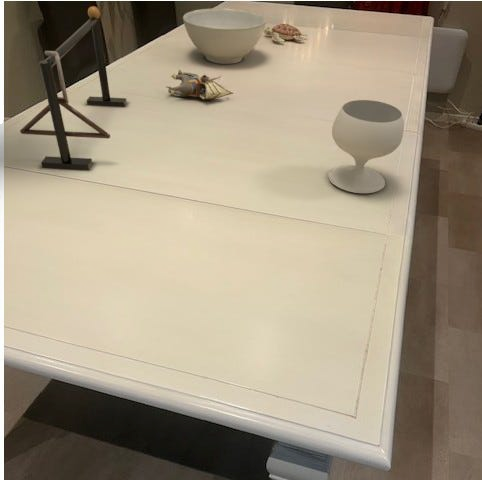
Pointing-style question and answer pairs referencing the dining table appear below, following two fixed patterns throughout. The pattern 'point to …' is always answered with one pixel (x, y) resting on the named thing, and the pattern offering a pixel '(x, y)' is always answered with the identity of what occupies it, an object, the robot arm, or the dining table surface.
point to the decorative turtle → (284, 33)
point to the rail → (54, 106)
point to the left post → (102, 67)
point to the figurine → (197, 86)
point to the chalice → (365, 142)
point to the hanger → (64, 103)
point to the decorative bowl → (224, 32)
